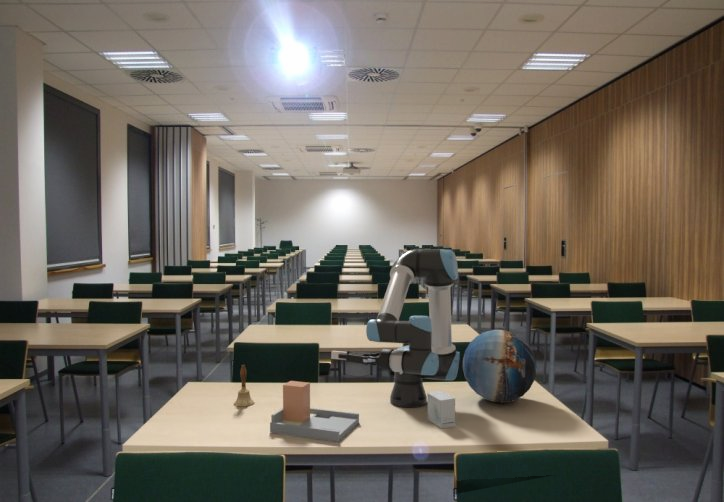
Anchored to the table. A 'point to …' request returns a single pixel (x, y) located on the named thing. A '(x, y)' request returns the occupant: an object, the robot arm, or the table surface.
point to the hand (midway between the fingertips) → (332, 354)
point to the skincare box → (441, 409)
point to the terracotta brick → (296, 401)
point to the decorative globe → (499, 366)
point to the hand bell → (243, 391)
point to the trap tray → (316, 424)
